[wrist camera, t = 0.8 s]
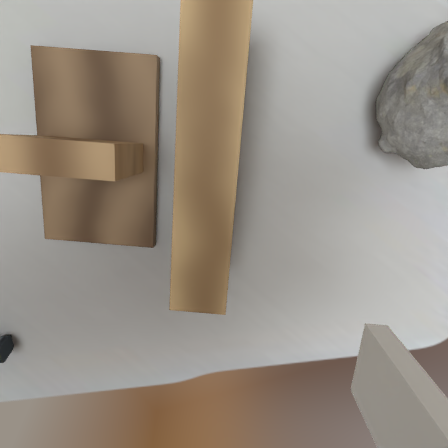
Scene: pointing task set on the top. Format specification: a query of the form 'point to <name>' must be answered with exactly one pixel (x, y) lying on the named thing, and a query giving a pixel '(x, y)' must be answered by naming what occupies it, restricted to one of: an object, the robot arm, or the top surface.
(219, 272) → the bar
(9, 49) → the top surface
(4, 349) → the gun
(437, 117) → the stone
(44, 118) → the fulcrum
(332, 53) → the top surface
